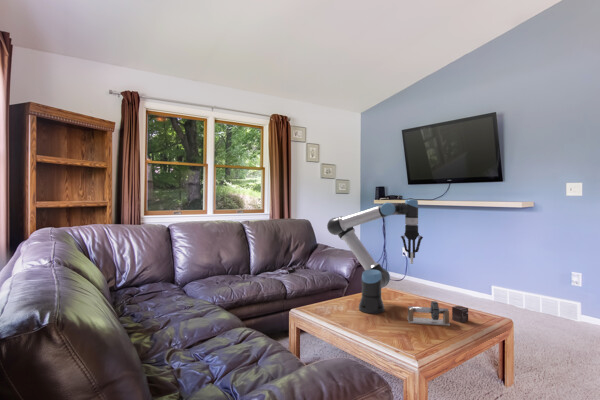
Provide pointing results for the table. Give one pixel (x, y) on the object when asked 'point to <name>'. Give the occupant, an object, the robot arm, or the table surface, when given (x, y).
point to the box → (460, 314)
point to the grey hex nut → (435, 310)
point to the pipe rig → (426, 320)
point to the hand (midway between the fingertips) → (411, 263)
